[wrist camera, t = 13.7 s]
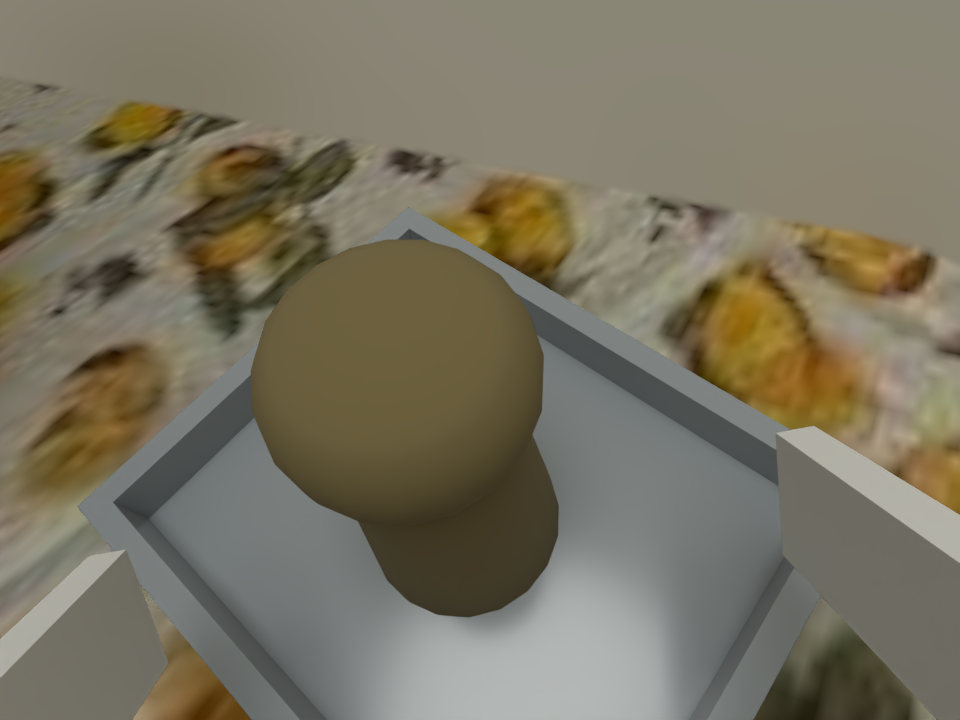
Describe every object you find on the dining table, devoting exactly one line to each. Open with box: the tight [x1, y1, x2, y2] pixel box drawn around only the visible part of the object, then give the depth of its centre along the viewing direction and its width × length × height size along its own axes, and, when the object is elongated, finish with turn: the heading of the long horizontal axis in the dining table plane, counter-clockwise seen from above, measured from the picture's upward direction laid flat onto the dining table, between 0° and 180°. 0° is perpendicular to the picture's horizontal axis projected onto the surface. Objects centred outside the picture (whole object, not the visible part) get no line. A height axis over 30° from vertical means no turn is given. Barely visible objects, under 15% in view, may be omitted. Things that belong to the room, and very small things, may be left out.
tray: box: [77, 207, 821, 720], centre depth 18 cm, size 18×15×2 cm
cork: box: [251, 240, 559, 618], centre depth 14 cm, size 6×6×11 cm
